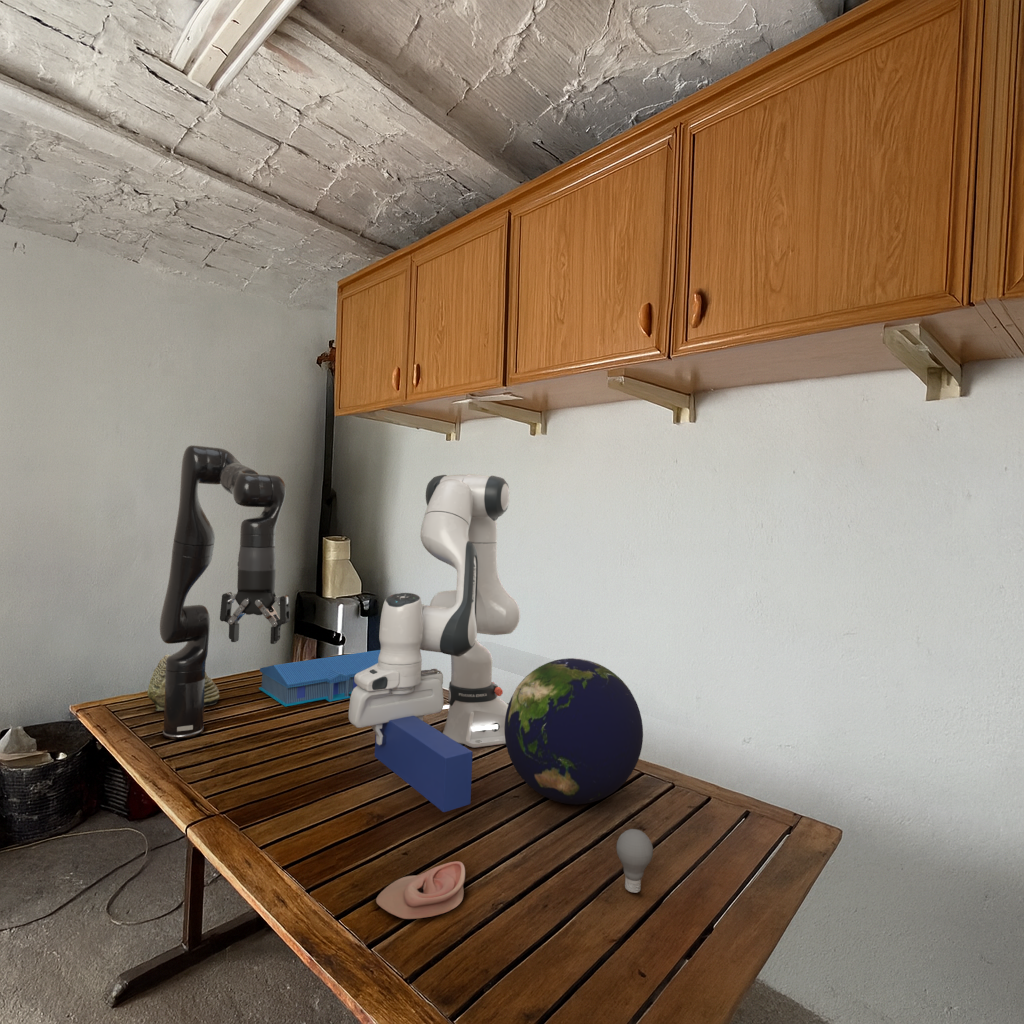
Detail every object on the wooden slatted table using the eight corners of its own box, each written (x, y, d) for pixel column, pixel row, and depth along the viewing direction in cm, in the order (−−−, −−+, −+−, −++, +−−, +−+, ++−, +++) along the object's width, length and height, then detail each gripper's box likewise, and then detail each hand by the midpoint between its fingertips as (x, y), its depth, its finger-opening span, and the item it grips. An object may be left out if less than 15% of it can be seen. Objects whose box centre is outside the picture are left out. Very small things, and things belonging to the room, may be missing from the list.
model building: (289, 709, 186) (291, 675, 185) (258, 688, 204) (259, 657, 204) (403, 687, 212) (405, 657, 212) (366, 670, 230) (368, 643, 230)
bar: (470, 804, 113) (472, 751, 113) (443, 812, 110) (445, 758, 110) (398, 751, 136) (400, 707, 135) (374, 756, 132) (376, 711, 132)
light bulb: (610, 879, 108) (613, 822, 108) (644, 879, 109) (647, 822, 109) (619, 902, 102) (622, 840, 102) (655, 901, 103) (658, 840, 103)
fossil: (144, 707, 182) (145, 655, 182) (212, 696, 194) (213, 647, 194) (151, 716, 175) (153, 662, 175) (221, 703, 188) (223, 653, 188)
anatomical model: (368, 886, 97) (397, 847, 108) (367, 912, 97) (396, 870, 108) (451, 901, 94) (471, 859, 106) (450, 928, 94) (470, 883, 106)
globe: (478, 811, 130) (485, 666, 129) (529, 759, 158) (535, 639, 157) (623, 847, 119) (630, 688, 118) (650, 784, 146) (656, 655, 146)
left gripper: (296, 567, 140) (293, 640, 140) (232, 564, 140) (229, 637, 140) (283, 570, 132) (280, 648, 132) (215, 567, 132) (212, 644, 133)
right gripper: (435, 664, 139) (433, 726, 139) (346, 676, 126) (343, 744, 127) (450, 670, 134) (448, 735, 134) (359, 684, 121) (356, 755, 122)
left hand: (254, 642), depth 136 cm, fingers open, 8 cm apart
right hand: (396, 740), depth 130 cm, fingers closed on bar, 5 cm apart
